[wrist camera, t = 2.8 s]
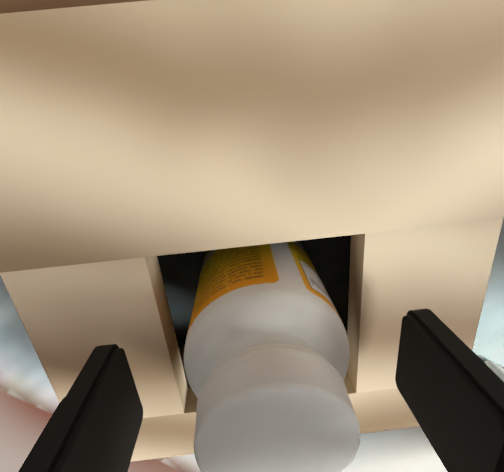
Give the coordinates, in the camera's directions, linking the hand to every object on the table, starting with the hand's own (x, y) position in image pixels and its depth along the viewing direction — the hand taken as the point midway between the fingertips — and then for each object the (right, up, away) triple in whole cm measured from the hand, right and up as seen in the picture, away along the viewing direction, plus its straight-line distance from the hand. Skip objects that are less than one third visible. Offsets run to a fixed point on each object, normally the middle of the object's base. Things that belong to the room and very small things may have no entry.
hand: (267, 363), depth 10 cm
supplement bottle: (0, +3, +6) cm, 7 cm away
